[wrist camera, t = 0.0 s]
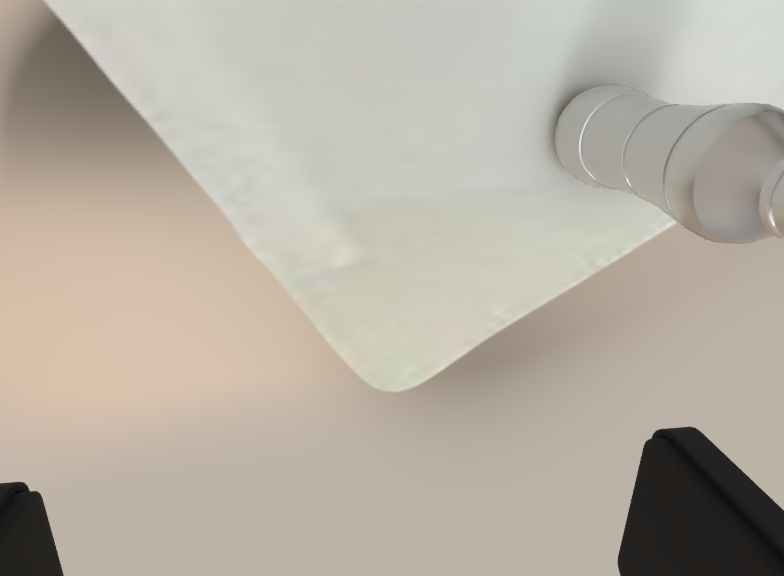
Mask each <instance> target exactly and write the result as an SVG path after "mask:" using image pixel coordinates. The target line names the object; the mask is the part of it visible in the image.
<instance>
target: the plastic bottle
mask: <svg viewBox="0 0 784 576" xmlns="http://www.w3.org/2000/svg"><path fill="white" fill-rule="evenodd" d="M555 148H556V153H557V155H558V158H559V160H560V162H561V163H562V164H563V166H564V167H565V168H566V169H567V170H568V171H569V172H570V173H571V174H572V175H573V176H574V177H575V178H576V179H577V180H579V181H581V182H583V183H584V184H587V185H590V186H594V187H598V188H603V189H617V190H620V191H624V192H627V193H631V194H634V195H637V196H639V197H640V198H642V199H644V200H646V201H648V202H650V203H652V204H653V205H655V206H657V207H659V208H660V209H661V210H663V211H664V212H665V213H666V214H668V215H669V216H670V217H672V218H673V219H674V220H676V221H677V222H678V223H680V224H681V225H683V226H684V227H685V228H687V229H689V230H690V231H692V232H694V233H695V234H697V235H699V236H701V237H702V238H704V239H706V240H710V241H713V242H719V243H736V244H745V243H752V242H756V241H759V240H762V239H765V238H768V237H771V236H774V235H775V236H776V237H779V238H782V239H784V110H782V109H780V108H777V107H774V106H772V105H768V104H758V103H736V104H721V105H706V106H694V105H679V104H671V103H667V102H664V101H661V100H657V99H654V98H651V97H650V96H648V95H646V94H645V93H643V92H641V91H638V90H636V89H633V88H630V87H627V86H624V85H616V84H613V85H604V86H599V87H595V88H592V89H589V90H586V91H584V92H582V93H580V94H579V95H577V96H576V97H575V98H574V99H572V100H571V101H570V102H569V104H568V105H567V106H566V107H565V108H564V110H563V112H562V113H561V115H560V117H559V120H558V123H557V125H556V130H555Z"/></svg>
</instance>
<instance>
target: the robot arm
mask: <svg viewBox="0 0 784 576" xmlns="http://www.w3.org/2000/svg"><path fill="white" fill-rule="evenodd" d="M618 567H619V572H620V575H621V576H784V510H783V509H781V508H780V507H779V506H778V505H777V504H776V503H775V502H774V501H773V500H772V499H771V498H770V497H769V496H768V495H767V494H766V493H765V492H764V491H762V490H761V489H760V488H759V487H758V486H757V485H756V484H755V483H754V482H753V481H752V480H751V479H750V478H749V477H748V476H747V475H746V474H745V473H743V472H742V471H741V470H740V469H739V468H738V467H737V466H736V465H735V464H734V463H733V462H732V461H731V460H730V459H729V458H728V457H727V456H726V455H724V453H722V452H721V451H720V450H719V449H718V448H717V447H716V446H715V445H714V444H713V443H712V442H711V441H710V440H709V439H708V438H707V437H706V436H704V434H703V433H701V432H700V431H699V430H697V429H696V428H693V427H682V428H669V429H660V430H657V431H656V432H655V433H654V434H653V436H652V439H649V440H648V441H646V443H645V445H644V448H643V452H642V457H641V461H640V465H639V469H638V474H637V478H636V482H635V487H634V491H633V495H632V499H631V504H630V508H629V513H628V517H627V521H626V525H625V530H624V534H623V538H622V542H621V547H620V551H619V555H618ZM0 576H63V572H62V568H61V564H60V561H59V557H58V553H57V550H56V546H55V543H54V539H53V535H52V532H51V528H50V524H49V521H48V517H47V513H46V510H45V506H44V502H43V499H42V497H41V494H40V493H39V492H37V491H32V492H30V491H29V488H28V486H27V485H26V484H25V483H23V482H13V483H2V484H0Z"/></svg>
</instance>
